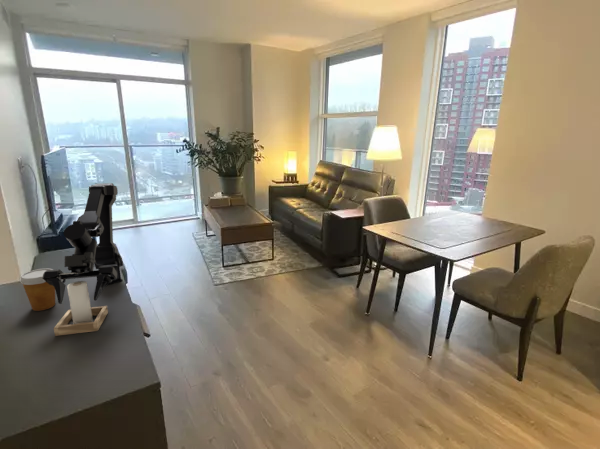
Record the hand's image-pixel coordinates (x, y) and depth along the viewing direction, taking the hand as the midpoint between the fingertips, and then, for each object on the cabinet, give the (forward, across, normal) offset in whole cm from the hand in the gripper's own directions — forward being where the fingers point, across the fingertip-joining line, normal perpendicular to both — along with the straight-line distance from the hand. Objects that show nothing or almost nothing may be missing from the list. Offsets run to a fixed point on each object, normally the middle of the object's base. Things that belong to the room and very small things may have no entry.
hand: (77, 301), depth 99 cm
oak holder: (+5, 0, +7) cm, 8 cm away
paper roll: (+5, 0, +7) cm, 8 cm away
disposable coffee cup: (-6, -16, +18) cm, 25 cm away
